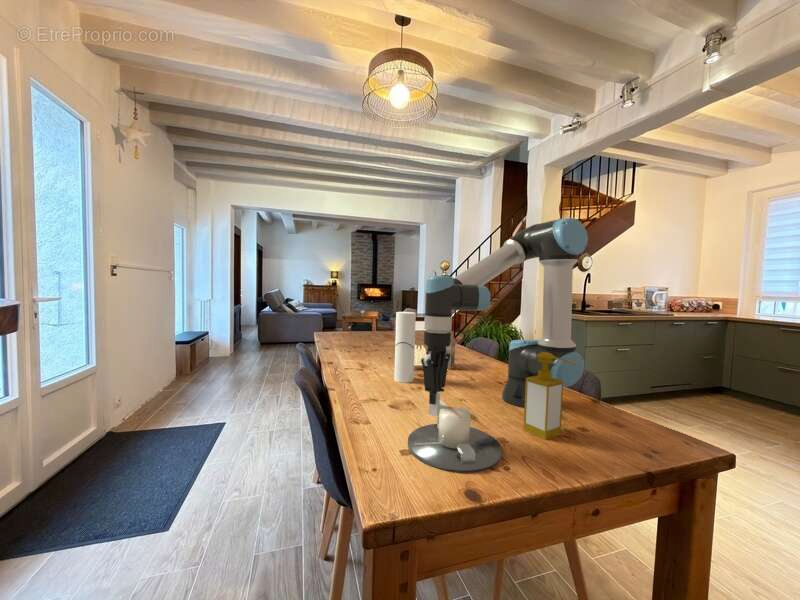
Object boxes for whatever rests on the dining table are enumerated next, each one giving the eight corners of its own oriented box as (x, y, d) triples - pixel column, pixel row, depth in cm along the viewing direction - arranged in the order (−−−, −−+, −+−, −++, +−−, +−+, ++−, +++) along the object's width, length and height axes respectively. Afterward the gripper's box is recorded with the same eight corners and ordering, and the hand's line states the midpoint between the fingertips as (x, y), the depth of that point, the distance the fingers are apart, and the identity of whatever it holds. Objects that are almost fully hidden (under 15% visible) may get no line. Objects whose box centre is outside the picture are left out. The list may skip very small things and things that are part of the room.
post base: (478, 425, 99) (478, 413, 99) (520, 468, 76) (521, 453, 76) (400, 428, 95) (400, 415, 95) (419, 475, 72) (419, 459, 72)
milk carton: (450, 370, 165) (451, 332, 165) (430, 367, 169) (431, 331, 168) (454, 365, 175) (455, 330, 174) (435, 363, 179) (436, 328, 178)
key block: (484, 456, 78) (485, 424, 78) (453, 459, 76) (454, 426, 76) (447, 419, 99) (448, 394, 99) (422, 422, 97) (423, 396, 97)
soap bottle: (564, 448, 86) (568, 360, 85) (523, 429, 97) (527, 351, 96) (579, 442, 90) (584, 357, 89) (538, 425, 101) (542, 349, 100)
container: (411, 383, 140) (414, 313, 139) (392, 381, 142) (394, 312, 141) (414, 378, 149) (417, 312, 147) (396, 376, 150) (398, 311, 149)
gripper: (436, 328, 99) (433, 405, 100) (413, 331, 88) (410, 417, 89) (459, 330, 95) (456, 411, 95) (438, 334, 84) (434, 425, 85)
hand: (434, 414), depth 92 cm, fingers closed
